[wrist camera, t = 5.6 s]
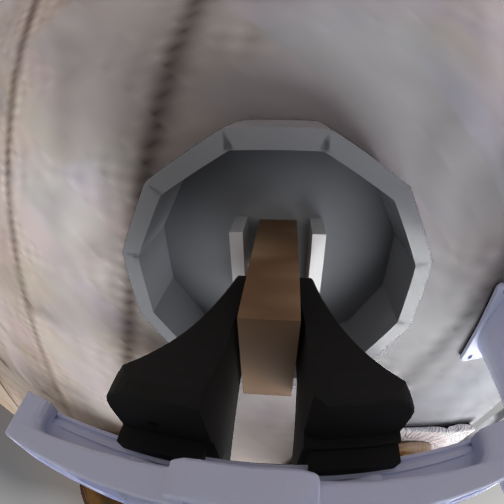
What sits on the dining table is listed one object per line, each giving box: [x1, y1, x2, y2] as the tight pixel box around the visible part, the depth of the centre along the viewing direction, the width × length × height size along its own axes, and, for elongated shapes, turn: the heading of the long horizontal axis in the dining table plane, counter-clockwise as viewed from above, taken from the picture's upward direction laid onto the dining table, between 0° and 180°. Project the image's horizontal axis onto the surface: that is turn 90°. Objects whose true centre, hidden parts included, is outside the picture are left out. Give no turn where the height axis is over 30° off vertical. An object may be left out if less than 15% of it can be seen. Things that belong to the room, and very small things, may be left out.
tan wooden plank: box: [237, 219, 301, 396], centre depth 12 cm, size 2×4×7 cm, turn 1°
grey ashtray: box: [122, 120, 432, 386], centre depth 14 cm, size 14×14×4 cm
